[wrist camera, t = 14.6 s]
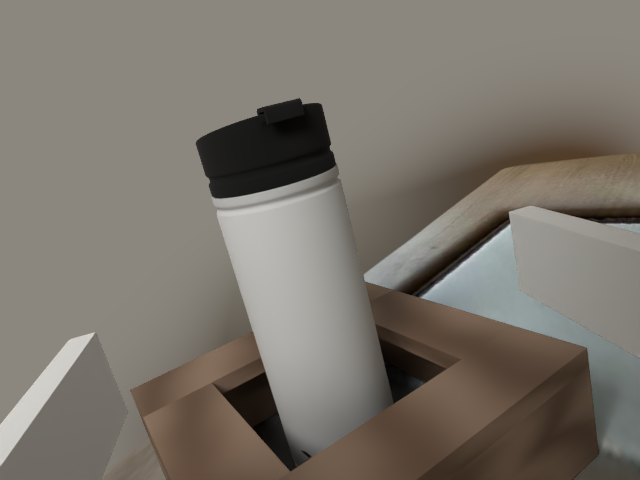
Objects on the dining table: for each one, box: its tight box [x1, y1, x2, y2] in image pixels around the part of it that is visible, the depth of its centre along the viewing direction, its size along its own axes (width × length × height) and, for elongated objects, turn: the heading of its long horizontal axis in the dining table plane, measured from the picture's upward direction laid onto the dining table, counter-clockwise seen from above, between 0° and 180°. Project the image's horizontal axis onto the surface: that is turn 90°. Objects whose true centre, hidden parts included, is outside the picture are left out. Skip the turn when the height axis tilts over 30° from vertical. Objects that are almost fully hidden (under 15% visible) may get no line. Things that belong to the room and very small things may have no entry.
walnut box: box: [130, 282, 599, 480], centre depth 26 cm, size 18×18×6 cm
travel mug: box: [196, 98, 394, 468], centre depth 25 cm, size 6×7×20 cm
